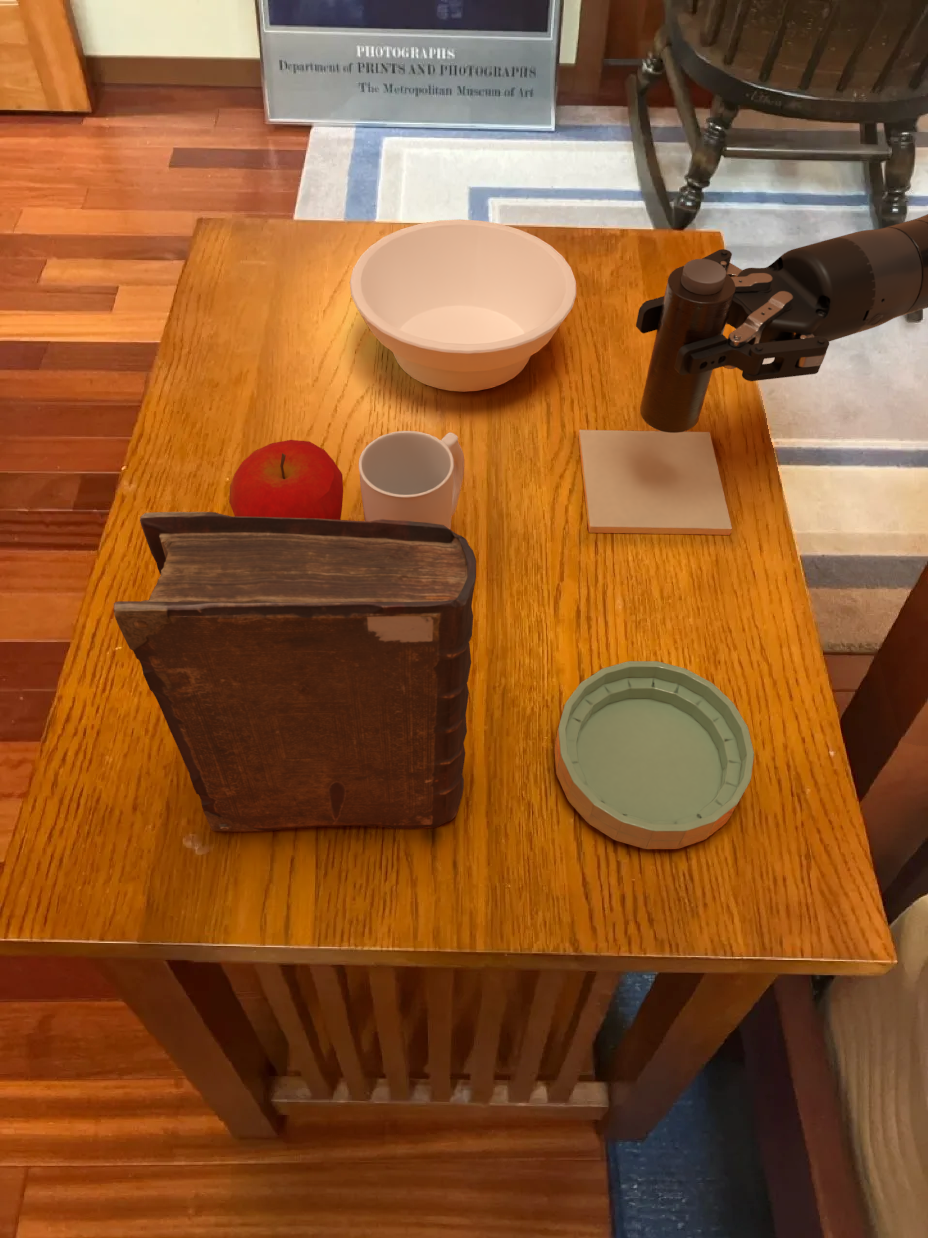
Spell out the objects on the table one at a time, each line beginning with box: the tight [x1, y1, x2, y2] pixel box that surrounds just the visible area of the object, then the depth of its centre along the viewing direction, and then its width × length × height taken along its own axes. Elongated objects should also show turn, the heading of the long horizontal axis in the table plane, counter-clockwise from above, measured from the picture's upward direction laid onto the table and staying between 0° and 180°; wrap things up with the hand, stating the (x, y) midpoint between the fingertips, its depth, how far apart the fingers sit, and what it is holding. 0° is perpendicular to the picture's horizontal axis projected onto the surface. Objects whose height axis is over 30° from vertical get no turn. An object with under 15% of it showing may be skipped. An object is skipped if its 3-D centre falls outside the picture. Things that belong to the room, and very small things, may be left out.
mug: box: [358, 430, 465, 531], centre depth 71 cm, size 10×7×12 cm, turn 142°
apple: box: [228, 439, 344, 520], centre depth 71 cm, size 9×8×12 cm
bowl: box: [349, 219, 577, 392], centre depth 89 cm, size 21×21×8 cm
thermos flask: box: [639, 258, 735, 433], centre depth 71 cm, size 5×5×13 cm
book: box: [113, 511, 477, 832], centre depth 53 cm, size 17×7×25 cm, turn 85°
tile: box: [577, 429, 733, 536], centre depth 82 cm, size 12×12×1 cm
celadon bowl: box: [553, 660, 755, 850], centre depth 64 cm, size 13×13×4 cm
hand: (660, 340), depth 69 cm, fingers closed on thermos flask, 5 cm apart
